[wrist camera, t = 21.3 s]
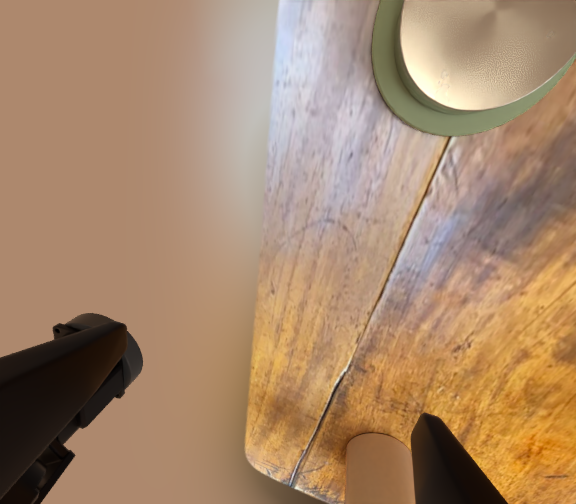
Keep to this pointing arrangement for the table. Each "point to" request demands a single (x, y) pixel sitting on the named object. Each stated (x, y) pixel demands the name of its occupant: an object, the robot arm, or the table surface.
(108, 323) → the robot arm
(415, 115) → the coaster
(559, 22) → the jam lid
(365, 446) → the jam jar
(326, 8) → the table surface
